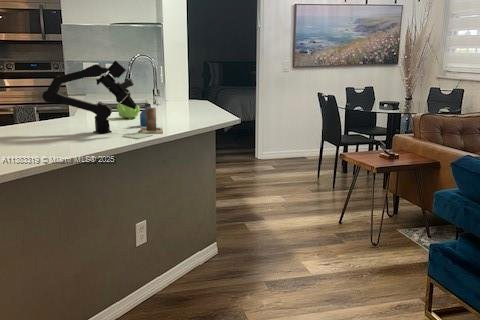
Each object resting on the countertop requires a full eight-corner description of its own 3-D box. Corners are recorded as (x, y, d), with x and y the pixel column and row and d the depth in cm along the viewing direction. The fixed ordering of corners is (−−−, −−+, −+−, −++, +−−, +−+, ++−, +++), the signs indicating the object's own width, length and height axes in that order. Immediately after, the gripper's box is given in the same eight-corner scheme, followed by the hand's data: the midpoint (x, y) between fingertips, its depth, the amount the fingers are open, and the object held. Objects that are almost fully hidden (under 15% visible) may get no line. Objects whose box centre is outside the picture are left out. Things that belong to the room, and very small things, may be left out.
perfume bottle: (149, 124, 253) (149, 102, 251) (156, 125, 249) (155, 103, 246) (140, 125, 249) (139, 103, 246) (146, 127, 245) (146, 104, 242)
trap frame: (140, 133, 225) (140, 131, 225) (140, 129, 236) (140, 127, 235) (162, 133, 227) (162, 131, 227) (162, 129, 238) (162, 127, 237)
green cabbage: (116, 117, 276) (115, 101, 274) (135, 116, 282) (134, 100, 279) (121, 120, 266) (120, 103, 264) (140, 119, 271) (140, 102, 269)
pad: (122, 136, 217) (122, 135, 217) (136, 133, 225) (136, 132, 225) (138, 139, 212) (138, 138, 212) (152, 135, 221) (152, 134, 221)
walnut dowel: (144, 131, 230) (143, 108, 228) (150, 130, 235) (150, 107, 232) (152, 132, 228) (151, 109, 225) (158, 131, 232) (157, 108, 229)
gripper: (122, 74, 213) (147, 98, 218) (124, 72, 231) (147, 94, 236) (105, 91, 213) (130, 114, 218) (109, 87, 231) (131, 109, 236)
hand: (135, 107), depth 227 cm, fingers open, 9 cm apart
